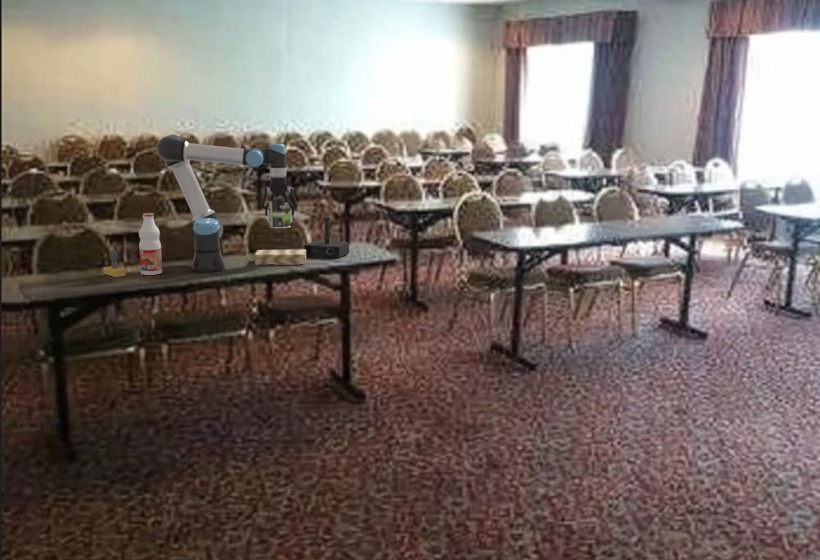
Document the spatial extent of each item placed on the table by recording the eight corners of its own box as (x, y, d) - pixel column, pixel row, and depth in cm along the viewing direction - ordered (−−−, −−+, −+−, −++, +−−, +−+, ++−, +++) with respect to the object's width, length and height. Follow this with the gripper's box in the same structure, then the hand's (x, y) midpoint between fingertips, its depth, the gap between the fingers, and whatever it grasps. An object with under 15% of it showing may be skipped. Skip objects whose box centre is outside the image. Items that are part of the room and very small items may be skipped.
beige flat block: (255, 265, 421) (254, 255, 420) (257, 259, 435) (257, 250, 434) (305, 264, 423) (304, 254, 422) (306, 259, 437) (305, 249, 436)
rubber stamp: (126, 276, 395) (124, 250, 392) (114, 278, 391) (112, 252, 388) (115, 273, 402) (113, 247, 399) (103, 275, 398) (101, 249, 395)
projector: (302, 257, 443) (301, 218, 438) (315, 252, 458) (314, 214, 454) (337, 259, 437) (337, 220, 433) (349, 254, 453) (349, 215, 449)
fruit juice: (166, 274, 399) (162, 213, 393) (147, 277, 393) (143, 215, 387) (156, 271, 406) (152, 211, 400) (137, 274, 400) (133, 213, 394)
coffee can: (295, 226, 425) (294, 197, 422) (279, 229, 417) (278, 199, 414) (280, 225, 431) (279, 196, 428) (265, 227, 423) (263, 198, 420)
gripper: (253, 177, 415) (255, 223, 419) (301, 176, 416) (303, 223, 421) (255, 175, 422) (257, 221, 427) (302, 175, 423) (303, 221, 428)
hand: (280, 222), depth 424 cm, fingers closed on coffee can, 10 cm apart
